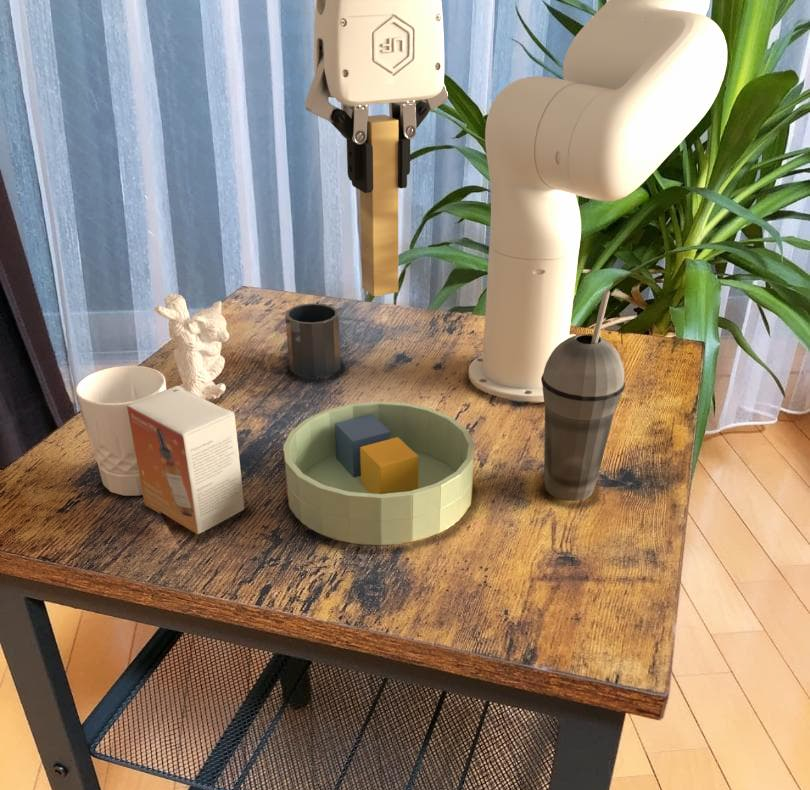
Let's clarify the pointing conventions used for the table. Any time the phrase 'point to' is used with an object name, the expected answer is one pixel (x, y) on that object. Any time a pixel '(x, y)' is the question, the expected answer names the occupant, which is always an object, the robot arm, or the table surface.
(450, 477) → the bowl
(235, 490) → the small box
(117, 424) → the white cup
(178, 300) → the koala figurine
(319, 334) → the utensil pot
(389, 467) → the mustard block
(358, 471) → the blue block
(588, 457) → the beverage cup
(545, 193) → the robot arm
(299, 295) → the table surface
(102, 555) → the table surface
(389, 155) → the tan wooden bar
